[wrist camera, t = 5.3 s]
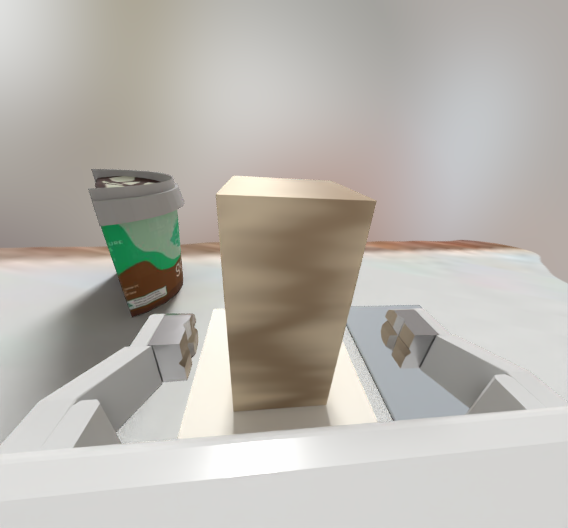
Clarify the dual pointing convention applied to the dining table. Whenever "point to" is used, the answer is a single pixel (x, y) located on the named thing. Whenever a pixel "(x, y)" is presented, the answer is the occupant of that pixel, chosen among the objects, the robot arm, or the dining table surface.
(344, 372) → the board
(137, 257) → the food container
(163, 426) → the dining table surface
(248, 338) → the birch block
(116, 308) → the dining table surface
